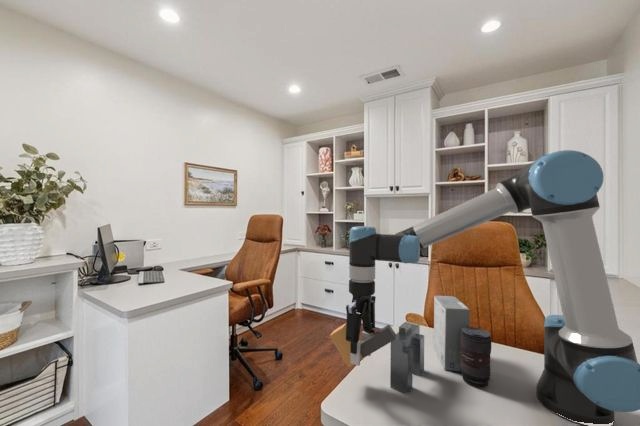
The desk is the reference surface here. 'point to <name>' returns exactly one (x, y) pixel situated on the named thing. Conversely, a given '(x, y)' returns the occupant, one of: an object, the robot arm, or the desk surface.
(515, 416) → the desk surface
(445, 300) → the hard drive box
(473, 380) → the camera lens
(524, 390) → the desk surface
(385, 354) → the desk surface
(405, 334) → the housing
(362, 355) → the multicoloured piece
